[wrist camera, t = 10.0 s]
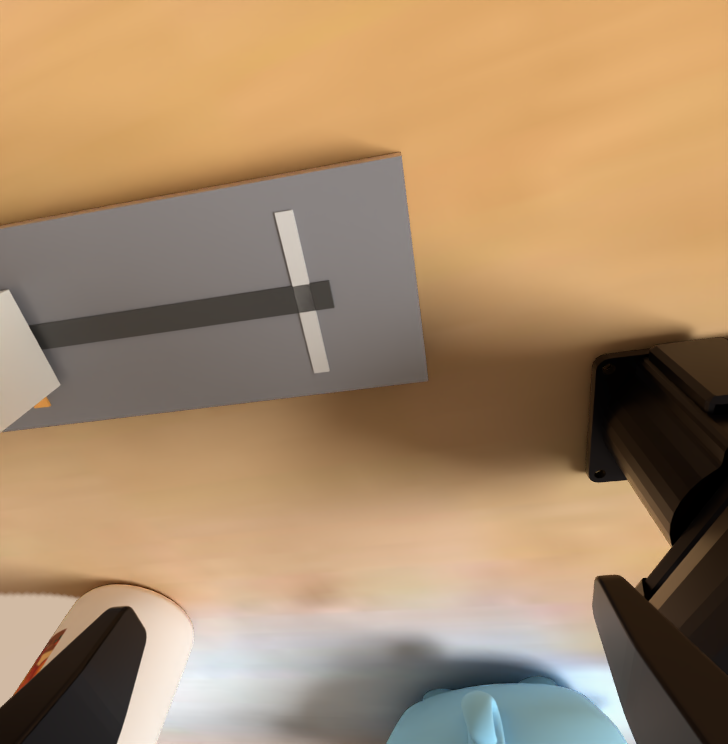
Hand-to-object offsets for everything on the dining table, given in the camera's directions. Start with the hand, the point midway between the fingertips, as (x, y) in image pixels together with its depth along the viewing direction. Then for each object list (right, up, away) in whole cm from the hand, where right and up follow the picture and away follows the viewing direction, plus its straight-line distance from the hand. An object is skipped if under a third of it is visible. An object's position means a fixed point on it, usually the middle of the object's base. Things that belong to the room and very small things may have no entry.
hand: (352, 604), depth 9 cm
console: (-10, +7, +10) cm, 16 cm away
